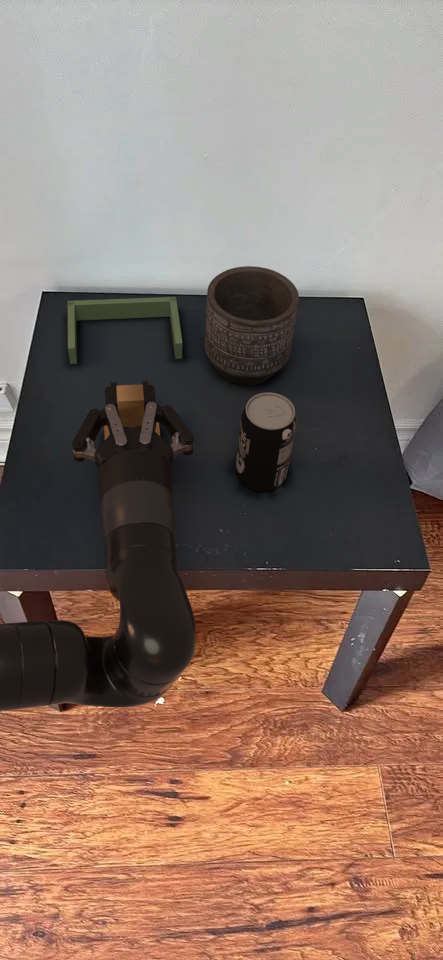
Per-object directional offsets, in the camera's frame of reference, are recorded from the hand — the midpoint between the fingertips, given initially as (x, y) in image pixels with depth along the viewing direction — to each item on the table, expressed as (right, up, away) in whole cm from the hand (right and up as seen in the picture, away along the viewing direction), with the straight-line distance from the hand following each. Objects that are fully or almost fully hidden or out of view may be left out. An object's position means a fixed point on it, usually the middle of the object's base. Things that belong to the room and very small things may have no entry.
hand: (129, 386), depth 88 cm
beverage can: (+16, -10, +9) cm, 21 cm away
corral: (-3, +10, +23) cm, 25 cm away
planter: (+14, +6, +21) cm, 26 cm away
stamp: (0, -8, +9) cm, 12 cm away
